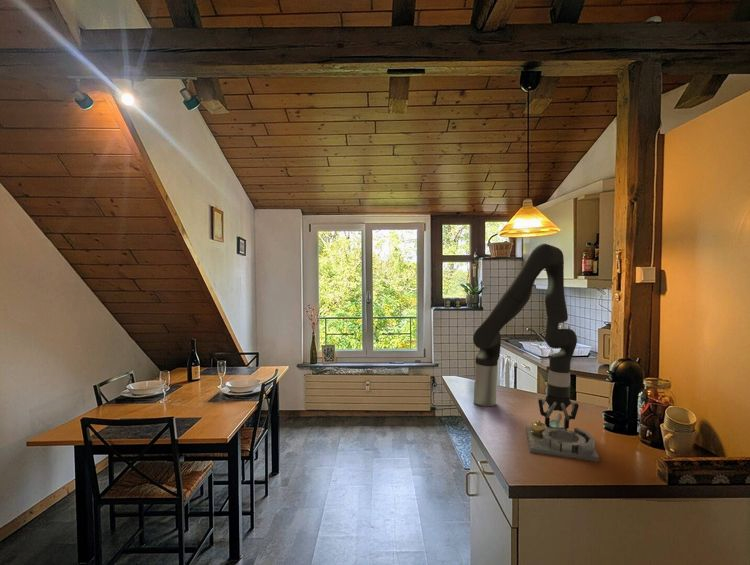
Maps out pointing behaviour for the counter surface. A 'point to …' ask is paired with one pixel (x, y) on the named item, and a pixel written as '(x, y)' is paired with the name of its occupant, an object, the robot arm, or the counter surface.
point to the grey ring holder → (561, 442)
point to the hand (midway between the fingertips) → (556, 427)
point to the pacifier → (556, 422)
